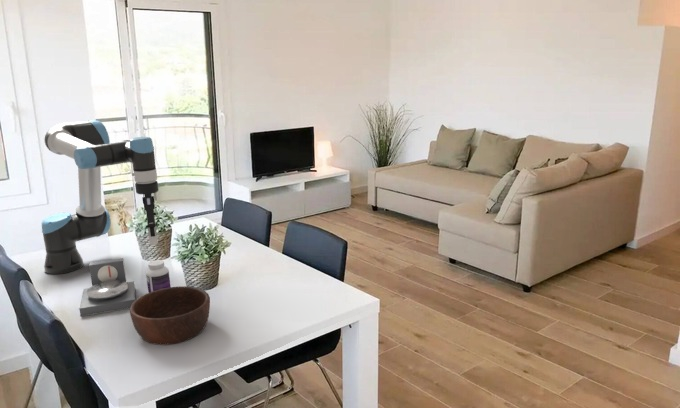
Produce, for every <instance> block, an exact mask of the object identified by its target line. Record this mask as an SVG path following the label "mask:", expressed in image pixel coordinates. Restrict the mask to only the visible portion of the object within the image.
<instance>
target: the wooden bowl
mask: <svg viewBox="0 0 680 408" xmlns="http://www.w3.org/2000/svg"><path fill="white" fill-rule="evenodd" d="M210 305H211V298H210V295H209V293H208V292H207V291H206V290H204V289H201V288H199V287H194V286H171V287H169V288H163V289H159V290H156V291H152V292H150V293H148V292H147V293H145V294H143V295H142V296H141V295H140V297H138V298H137V299H135V301H134V302H133V303H132V305H131V306H130V308H129V315H130V318H131V321H132V324H133V327H134V329H135V331H136V333H137V334H138V335H139V336H140V338H141V339H143V340H144V341H146V342H148V343H150V344H154V345H161V346H162V345H166V346H167V345H175V344H178V343H182V342H185V341H188V340H191V339H192V338H195V337H196V336H198V335H199V334H200V333H201V332H202V331H203V330H204V328H205V327H206V326H207V323H208V319H209V316H210V309H211V307H210Z"/></svg>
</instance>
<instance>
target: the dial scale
mask: <svg viewBox="0 0 680 408" xmlns="http://www.w3.org/2000/svg"><path fill="white" fill-rule="evenodd" d="M88 267H89V274H90V281H91V286H93V285H96V284H98V283H102V282H106V281H124V282H126V283H127V284H128V290H127V291H126V292H125V293H123V294H121V295H119V296H116V297H113V298H108V299H91V298H89V297H88V296H87V290H88V289H89V288H90V287H87V288H86V287H85V288H83V291H82V295H81V300H80V304H79V308H78V310H79V315H80V317H85V316H90V315H97V314H102V313H110V312H113V311H114V312H115V311H121V310H127V309H130V306H131V305H132V303H133V302H134V301H135V300H136V284H135V281H127V277H126V269H125V262H124V258H123V257H122V258H114V259H109V260H108V259H107V260H100V261H99V260H98V261H92V262H89V264H88Z"/></svg>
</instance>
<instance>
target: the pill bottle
mask: <svg viewBox="0 0 680 408" xmlns="http://www.w3.org/2000/svg"><path fill="white" fill-rule="evenodd" d="M147 266H148V269H147V270H146V271H145V278H146V285H147V291H148V292H147V293H150V292H152V291H156V290H159V289H163V288H169V287H172V286H171V280H170V279H171V278H170V271H169V268H168V267H167V266H165V261H164V260H162V259H157V260H156V259H155V260H152V261H150V262H148V263H147Z"/></svg>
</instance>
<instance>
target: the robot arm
mask: <svg viewBox="0 0 680 408" xmlns="http://www.w3.org/2000/svg"><path fill="white" fill-rule="evenodd" d="M44 144H45V147H46V148H47V149H48V151H50V152H51V153H53V154H55V155H58V156H59V155H61V156H62V155H64V156H66V157H68V158H71V159H73V160H74V163H75V165H76V167H77V175H78V196H79V201H78V202H79V205H78V206H77V207H76V209H75V214H71V213H70V212H62V213H61V212H58V213H55V214H52V215H50V216H47V217H46V218H44V219H43V220H42V222H41V233H42V236H43V242H44V247H45V248H44V249H45V254H46V255H45V261H44V265H43V268H44V271H45V273H46V274H51V275H58V274H59V275H60V274H68V273H71V272H74V271H77V270H80V269H81V268H82V267H83V266H84V260H83V258H82V256H81V253H80V252H79V251H78V249H77V243H76V242H80V241H83V240H87V239H92V238H98V237H101V236H104V235H106V234H107V233H109V231H110V230H111V225H112V224H111V223H112V221H111V220H112V219H111V215H110V213H109V211H108V210H107V209H106V207H105V206H104V205H102V187H101V186H102V183H101V182H102V181H101V179H102V178H101V173H102V172H101V167H107V166H114V165H121V164H127V163H131V164H132V170H133V173H131V176H133V177H134V182H135V183H134V184H135V185H134V186H135V194H138V195H144V196H143V197H142V204H143V209H144V211H145V213H146V223H147V225H145V228H146V229H147V232H148V233H147V234H148V241H149V246H153V245H155V246H156V245H158V244H159V242H158V234H157V233H158V232H157V223H156V217H155V216H157V213H156V212H155V209H156V207H155V202H156V201H155V195H152V194H156V193H158V192H159V184H158V183H159V182H158V181H157V180H158V173H157V168H156V158H155V146H154V143H153V139H152V138H151V137H148V136H137V137H132V138H130V140H129V139H126V140H123V139H122V140H119V141H117V142H112V143H111V142H110V136H109V132H108V130H107V128H106V126H105V125H104V123H103V122H101V120H84V121H75V122H74V121H73V122H62V123H58V124H55V125H54V126H52V127H51V128H50V129H48V130H47V131H46V134H45V135H44Z"/></svg>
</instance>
